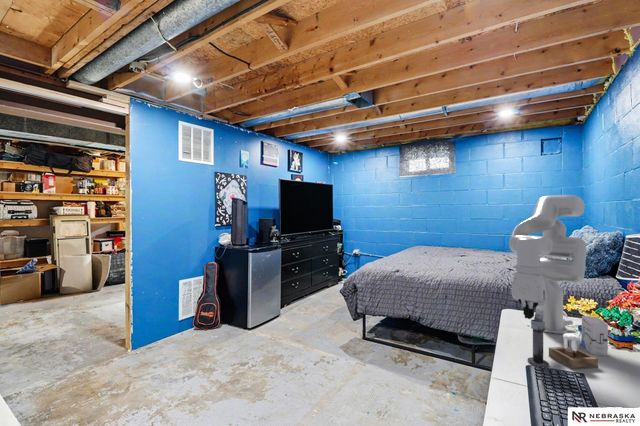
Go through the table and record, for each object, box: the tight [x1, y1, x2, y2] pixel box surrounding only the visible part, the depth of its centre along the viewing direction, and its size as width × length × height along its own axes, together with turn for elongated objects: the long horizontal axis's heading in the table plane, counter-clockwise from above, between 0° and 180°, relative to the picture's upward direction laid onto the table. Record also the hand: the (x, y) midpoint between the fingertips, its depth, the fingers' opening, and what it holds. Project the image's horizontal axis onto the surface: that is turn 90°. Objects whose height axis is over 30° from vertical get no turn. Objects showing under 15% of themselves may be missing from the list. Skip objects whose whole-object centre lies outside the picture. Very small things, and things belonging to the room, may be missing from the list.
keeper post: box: [527, 329, 550, 369], centre depth 105 cm, size 6×6×12 cm
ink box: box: [580, 315, 609, 357], centre depth 115 cm, size 9×5×12 cm, turn 160°
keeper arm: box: [530, 308, 545, 332], centre depth 111 cm, size 18×4×2 cm, turn 142°
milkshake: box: [562, 331, 582, 358], centre depth 106 cm, size 4×5×10 cm
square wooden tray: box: [548, 346, 599, 370], centre depth 106 cm, size 9×9×3 cm
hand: (528, 317), depth 116 cm, fingers closed
